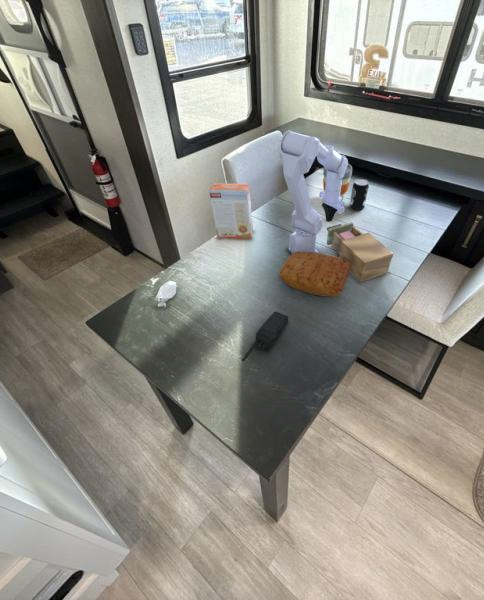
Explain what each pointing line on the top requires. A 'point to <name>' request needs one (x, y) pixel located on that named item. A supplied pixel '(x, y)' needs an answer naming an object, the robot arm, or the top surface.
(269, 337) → the walkie-talkie
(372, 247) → the cabinet
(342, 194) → the reusable coffee cup
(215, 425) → the top surface
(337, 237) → the drawer
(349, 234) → the block
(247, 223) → the cracker box
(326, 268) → the cuneiform tablet
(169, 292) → the bird figurine
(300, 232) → the robot arm
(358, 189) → the beverage can
